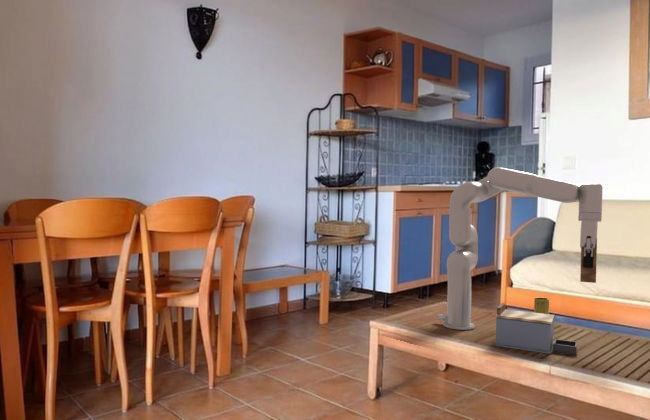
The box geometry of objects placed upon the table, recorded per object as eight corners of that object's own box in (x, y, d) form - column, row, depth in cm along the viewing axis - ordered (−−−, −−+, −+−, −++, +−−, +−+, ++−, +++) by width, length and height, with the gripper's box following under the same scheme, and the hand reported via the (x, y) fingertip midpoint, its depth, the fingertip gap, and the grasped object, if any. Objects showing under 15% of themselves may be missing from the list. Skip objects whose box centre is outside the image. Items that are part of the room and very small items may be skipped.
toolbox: (495, 345, 187) (496, 318, 187) (501, 338, 197) (502, 311, 197) (549, 353, 178) (550, 324, 178) (552, 345, 189) (553, 318, 189)
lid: (495, 317, 186) (495, 308, 186) (501, 310, 198) (501, 302, 197) (551, 324, 178) (551, 314, 178) (554, 317, 189) (554, 308, 189)
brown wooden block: (580, 281, 188) (581, 237, 188) (580, 279, 193) (581, 236, 192) (595, 282, 186) (596, 238, 186) (596, 281, 190) (597, 237, 190)
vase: (550, 337, 200) (551, 300, 200) (533, 336, 201) (535, 299, 201) (547, 333, 206) (548, 297, 206) (530, 332, 207) (532, 296, 207)
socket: (553, 352, 180) (553, 343, 180) (554, 347, 186) (555, 339, 186) (576, 355, 177) (576, 347, 176) (577, 350, 183) (577, 342, 183)
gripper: (579, 216, 198) (577, 263, 199) (577, 217, 183) (575, 268, 184) (601, 217, 195) (600, 265, 195) (601, 218, 180) (599, 270, 180)
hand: (588, 266), depth 189 cm, fingers closed on brown wooden block, 5 cm apart
